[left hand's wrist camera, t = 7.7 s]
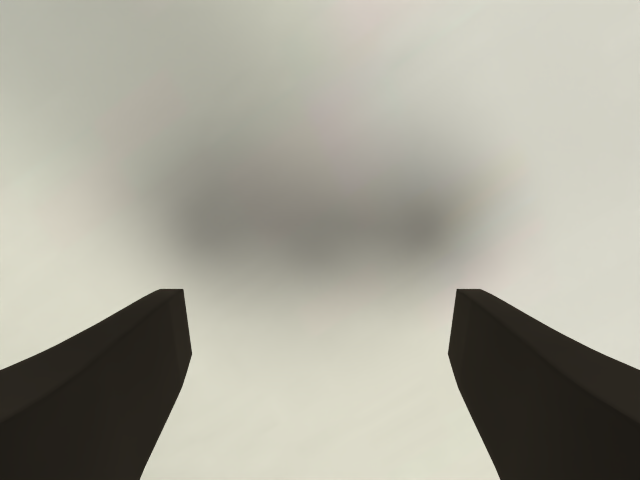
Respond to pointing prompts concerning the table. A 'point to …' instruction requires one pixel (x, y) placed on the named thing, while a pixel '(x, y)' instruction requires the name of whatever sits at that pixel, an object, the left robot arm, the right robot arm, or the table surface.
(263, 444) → the table surface
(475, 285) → the table surface
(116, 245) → the table surface
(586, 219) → the table surface
